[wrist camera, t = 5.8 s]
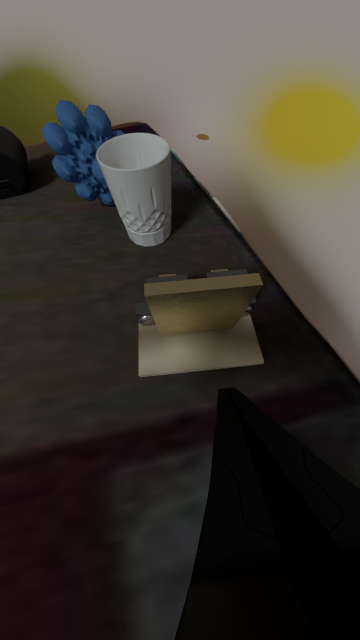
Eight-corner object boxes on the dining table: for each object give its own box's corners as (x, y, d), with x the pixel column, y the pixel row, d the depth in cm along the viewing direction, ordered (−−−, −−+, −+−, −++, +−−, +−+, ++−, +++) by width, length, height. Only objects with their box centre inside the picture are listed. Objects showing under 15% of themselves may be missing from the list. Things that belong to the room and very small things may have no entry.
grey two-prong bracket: (247, 318, 20) (274, 283, 14) (142, 328, 20) (123, 297, 14) (243, 304, 21) (267, 266, 15) (142, 314, 20) (124, 279, 14)
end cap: (38, 192, 33) (5, 145, 27) (-1, 202, 32) (-46, 155, 26) (37, 166, 37) (7, 120, 31) (1, 174, 36) (-36, 127, 30)
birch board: (260, 364, 19) (264, 362, 18) (141, 376, 18) (138, 375, 17) (243, 305, 22) (246, 301, 21) (140, 315, 21) (138, 311, 21)
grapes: (88, 231, 28) (26, 124, 17) (77, 208, 30) (16, 102, 20) (153, 207, 30) (135, 97, 19) (137, 187, 33) (113, 81, 22)
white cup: (185, 232, 27) (185, 148, 18) (145, 258, 25) (123, 179, 16) (153, 209, 30) (140, 126, 21) (115, 231, 28) (82, 150, 19)
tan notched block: (233, 328, 19) (263, 284, 12) (160, 336, 19) (144, 296, 12) (224, 294, 21) (246, 237, 14) (158, 300, 21) (143, 246, 13)
